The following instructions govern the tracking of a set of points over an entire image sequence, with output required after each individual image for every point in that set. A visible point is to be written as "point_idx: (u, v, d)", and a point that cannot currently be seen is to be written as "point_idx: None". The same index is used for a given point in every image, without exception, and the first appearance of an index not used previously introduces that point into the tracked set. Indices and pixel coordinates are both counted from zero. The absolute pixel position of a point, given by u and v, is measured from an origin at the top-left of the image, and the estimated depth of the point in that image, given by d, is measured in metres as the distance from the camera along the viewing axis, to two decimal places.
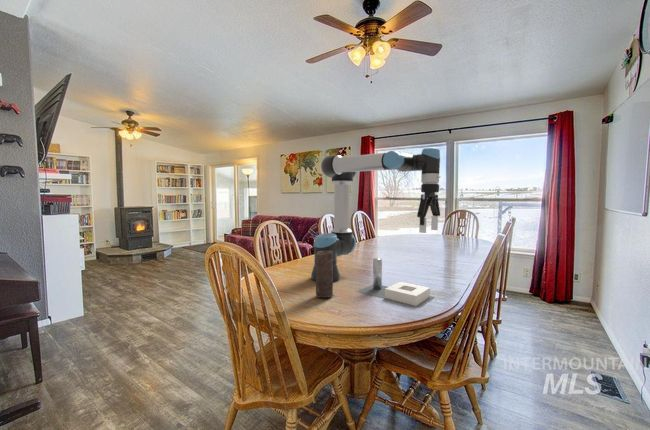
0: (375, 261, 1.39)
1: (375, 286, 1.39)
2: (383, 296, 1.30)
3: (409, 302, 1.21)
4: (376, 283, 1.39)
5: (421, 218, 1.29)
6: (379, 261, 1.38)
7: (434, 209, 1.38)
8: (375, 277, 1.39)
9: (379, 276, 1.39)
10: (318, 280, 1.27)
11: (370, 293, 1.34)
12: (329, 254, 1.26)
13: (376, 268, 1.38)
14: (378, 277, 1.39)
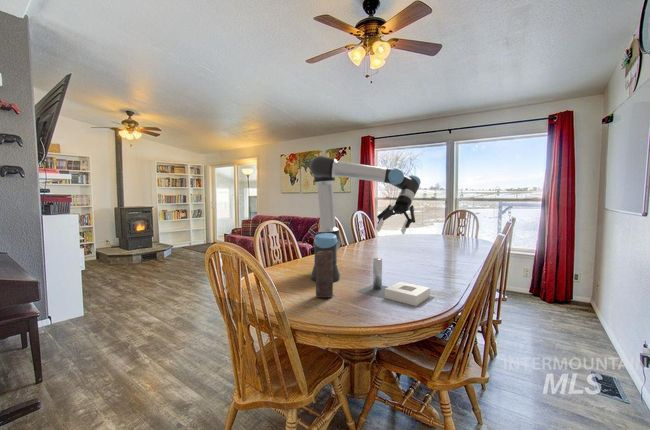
0: (375, 261, 1.39)
1: (375, 286, 1.39)
2: (383, 296, 1.30)
3: (409, 302, 1.21)
4: (376, 283, 1.39)
5: (410, 222, 1.44)
6: (379, 261, 1.38)
7: (388, 216, 1.55)
8: (375, 277, 1.39)
9: (379, 276, 1.39)
10: (318, 280, 1.27)
11: (370, 293, 1.34)
12: (329, 254, 1.26)
13: (376, 268, 1.38)
14: (378, 277, 1.39)
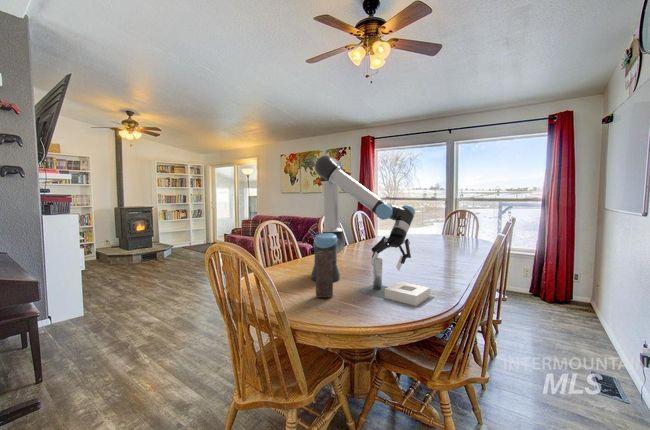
0: (375, 261, 1.39)
1: (375, 286, 1.39)
2: (383, 296, 1.30)
3: (409, 302, 1.21)
4: (376, 283, 1.39)
5: (405, 258, 1.40)
6: (379, 261, 1.38)
7: (383, 249, 1.51)
8: (375, 277, 1.39)
9: (379, 276, 1.39)
10: (318, 280, 1.27)
11: (370, 293, 1.34)
12: (329, 254, 1.26)
13: (377, 268, 1.38)
14: (378, 277, 1.39)
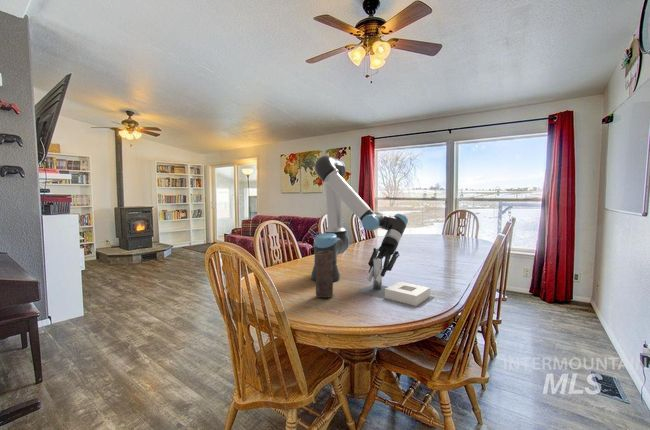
0: (375, 261, 1.39)
1: (375, 286, 1.39)
2: (383, 296, 1.30)
3: (409, 302, 1.21)
4: (376, 283, 1.39)
5: (385, 270, 1.38)
6: (379, 261, 1.38)
7: None
8: (375, 277, 1.39)
9: None
10: (318, 280, 1.27)
11: (370, 293, 1.34)
12: (329, 254, 1.26)
13: (377, 268, 1.38)
14: None
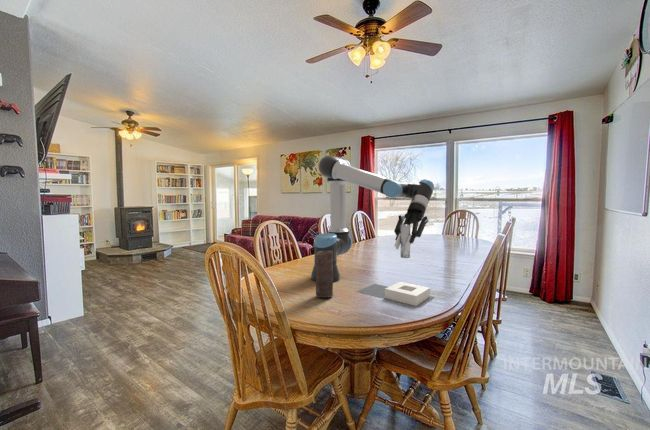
0: (403, 227, 1.27)
1: (403, 254, 1.28)
2: (383, 296, 1.30)
3: (409, 302, 1.21)
4: (404, 250, 1.28)
5: (414, 237, 1.27)
6: (407, 226, 1.27)
7: None
8: (403, 244, 1.28)
9: None
10: (318, 280, 1.27)
11: (370, 293, 1.34)
12: (329, 254, 1.26)
13: (405, 234, 1.27)
14: None
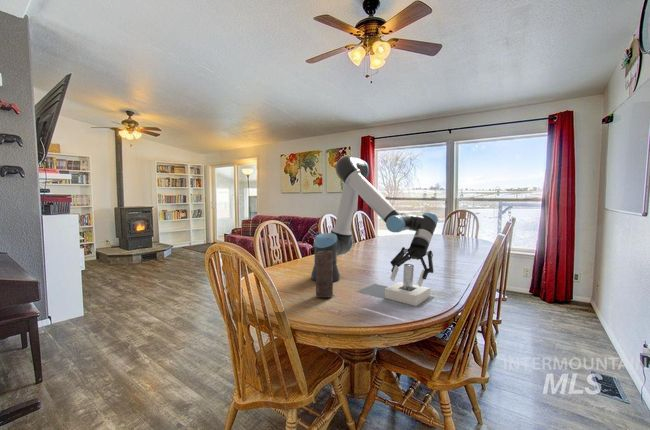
0: (406, 268, 1.26)
1: None
2: (383, 296, 1.30)
3: (409, 302, 1.21)
4: None
5: (427, 272, 1.25)
6: (411, 268, 1.26)
7: (403, 262, 1.35)
8: (406, 285, 1.27)
9: (410, 284, 1.27)
10: (318, 280, 1.27)
11: (370, 293, 1.34)
12: (329, 254, 1.26)
13: (408, 275, 1.26)
14: (409, 285, 1.27)
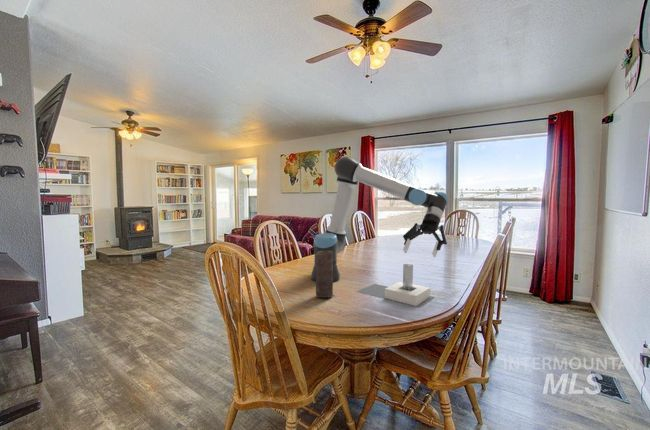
0: (406, 267, 1.27)
1: None
2: (383, 296, 1.30)
3: (409, 302, 1.21)
4: None
5: (441, 244, 1.34)
6: (410, 267, 1.26)
7: (415, 236, 1.44)
8: (406, 285, 1.27)
9: (410, 284, 1.27)
10: (318, 280, 1.27)
11: (370, 293, 1.34)
12: (329, 254, 1.26)
13: (407, 275, 1.27)
14: (409, 285, 1.27)
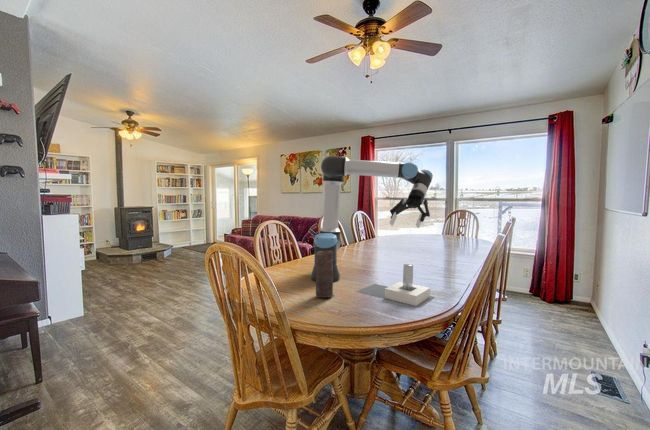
0: (406, 267, 1.27)
1: None
2: (383, 296, 1.30)
3: (409, 302, 1.21)
4: None
5: (424, 216, 1.43)
6: (410, 267, 1.26)
7: (401, 210, 1.54)
8: (406, 285, 1.27)
9: (410, 284, 1.27)
10: (318, 280, 1.27)
11: (370, 293, 1.34)
12: (329, 254, 1.26)
13: (407, 275, 1.27)
14: (409, 285, 1.27)
